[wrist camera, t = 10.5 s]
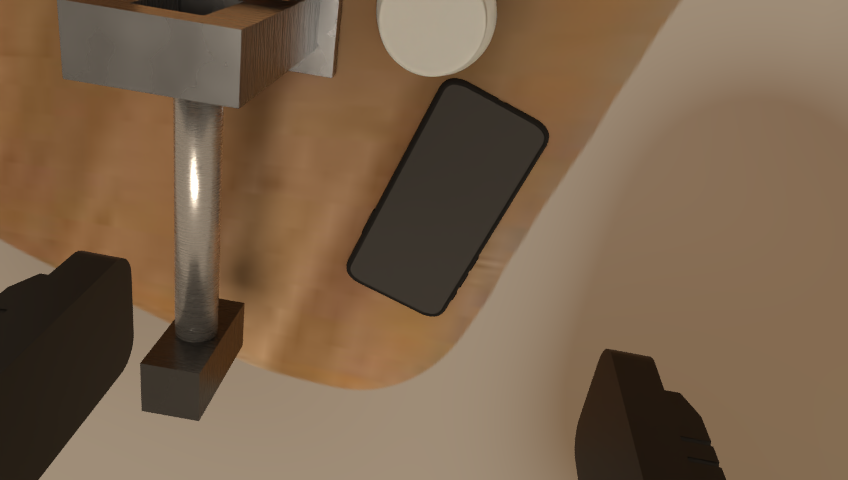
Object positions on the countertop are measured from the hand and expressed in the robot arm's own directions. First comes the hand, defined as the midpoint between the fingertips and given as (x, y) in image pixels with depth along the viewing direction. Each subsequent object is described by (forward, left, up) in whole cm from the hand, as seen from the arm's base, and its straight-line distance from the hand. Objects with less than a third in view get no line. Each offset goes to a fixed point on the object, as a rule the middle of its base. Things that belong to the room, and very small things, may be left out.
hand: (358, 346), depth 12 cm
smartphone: (+10, +1, -31) cm, 33 cm away
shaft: (+10, -11, -25) cm, 29 cm away
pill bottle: (-2, -1, -31) cm, 31 cm away
